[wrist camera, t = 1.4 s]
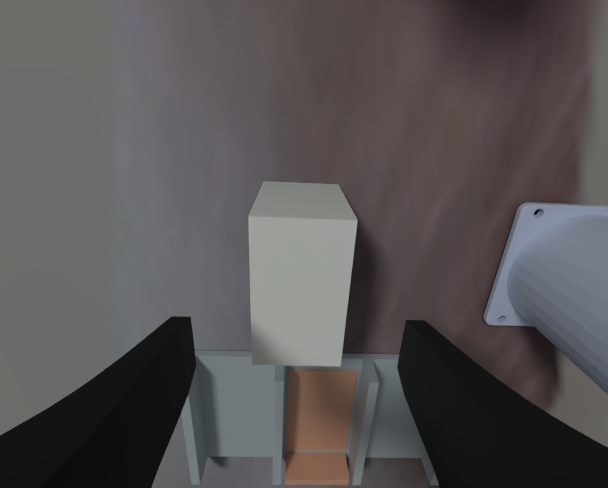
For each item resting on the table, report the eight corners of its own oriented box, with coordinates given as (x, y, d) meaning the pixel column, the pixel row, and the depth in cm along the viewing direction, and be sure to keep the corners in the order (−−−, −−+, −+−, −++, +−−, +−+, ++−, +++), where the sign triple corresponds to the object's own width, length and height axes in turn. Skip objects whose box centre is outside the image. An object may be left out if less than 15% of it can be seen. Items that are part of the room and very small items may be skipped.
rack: (453, 355, 22) (472, 384, 20) (425, 451, 26) (438, 485, 24) (189, 350, 21) (176, 379, 19) (201, 450, 25) (191, 484, 23)
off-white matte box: (338, 184, 17) (357, 220, 12) (328, 295, 20) (340, 366, 15) (263, 181, 17) (248, 216, 12) (264, 293, 20) (252, 364, 14)
